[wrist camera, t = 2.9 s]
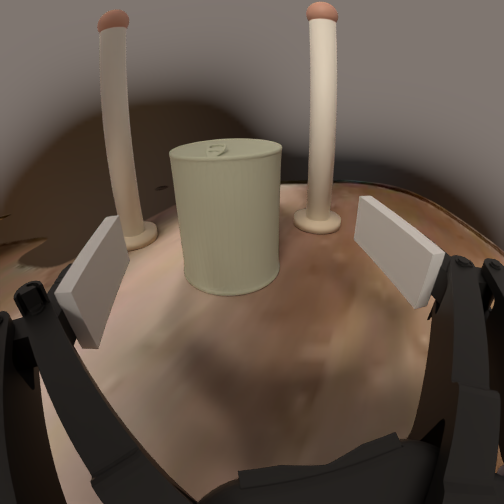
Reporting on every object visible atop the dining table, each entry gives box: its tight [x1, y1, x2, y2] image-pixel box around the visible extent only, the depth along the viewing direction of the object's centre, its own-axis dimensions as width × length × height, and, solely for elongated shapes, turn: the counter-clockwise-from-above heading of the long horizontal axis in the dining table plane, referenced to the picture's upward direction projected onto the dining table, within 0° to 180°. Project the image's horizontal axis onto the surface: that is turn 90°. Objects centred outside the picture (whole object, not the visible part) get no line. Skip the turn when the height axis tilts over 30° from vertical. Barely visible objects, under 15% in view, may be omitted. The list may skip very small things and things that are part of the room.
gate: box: [97, 2, 341, 251], centre depth 28 cm, size 29×6×28 cm, turn 98°
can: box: [169, 139, 282, 296], centre depth 25 cm, size 9×9×12 cm
